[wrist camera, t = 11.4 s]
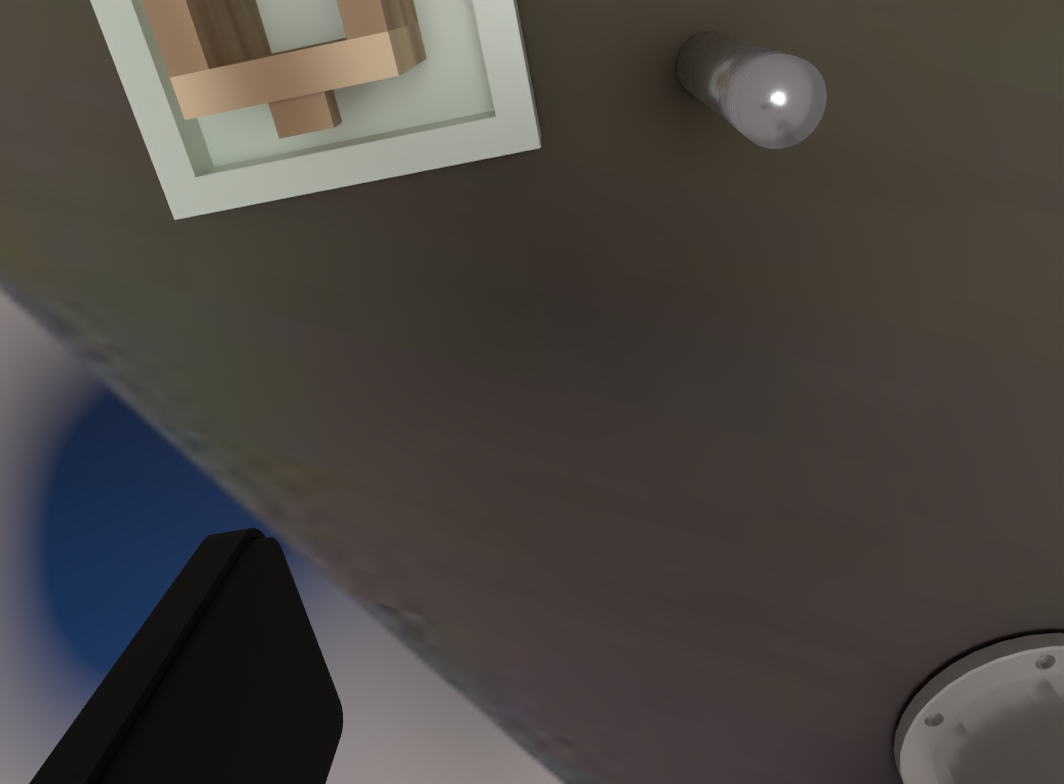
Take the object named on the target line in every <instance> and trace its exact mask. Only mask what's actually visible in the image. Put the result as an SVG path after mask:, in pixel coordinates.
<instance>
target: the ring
mask: <svg viewBox="0 0 1064 784" xmlns="http://www.w3.org/2000/svg"><path fill="white" fill-rule="evenodd" d="M142 1H143V4H144V7H145V10H146V13H147V15H148V18H149V21H150V24H151V27H152V29H153V32H154V35H155V38H156V41H157V43H158V46H159V49H160V52H161V55H162V57H163V60H164V63H165V66H166V69H167V71H168V74H169V77H170V80H171V83H172V85H173V88H174V91H175V94H176V96H177V99H178V102H179V105H180V108H181V110H182V113H183V116H184V119H185V120H188V119H193V118H197V117H202V116H207V115H212V114H217V113H222V112H227V111H231V110H236V109H241V108H246V107H251V106H256V105H260V104H265V103H268V104H269V108H270V111H271V114H272V117H273V120H274V124H275V127H276V130H277V133H278V136H279V139H281V138H286V137H291V136H296V135H301V134H306V133H311V132H316V131H320V130H325V129H330V128H335V127H336V126H338V125H339V124H341V123H342V119H341V116H340V112H339V109H338V105H337V102H336V98H335V94H334V91H333V89H338V88H343V87H348V86H353V85H357V84H362V83H367V82H372V81H377V80H382V79H386V78H391V77H396V76H400V75H401V74H403V73H404V72H406V71H408V70H409V69H411V68H412V67H414V66H416V65H417V64H419V63H421V62H422V61H424V60H425V59H427V57H426V53H425V49H424V44H423V40H422V36H421V31H420V27H419V23H418V18H417V14H416V10H415V5H414V1H413V0H337V4H338V8H339V12H340V15H341V19H342V23H343V27H344V30H345V34H346V38H342V39H337V40H332V41H328V42H323V43H318V44H314V45H309V46H304V47H299V48H295V49H290V50H285V51H281V52H276V53H272V52H271V49H270V45H269V42H268V39H267V36H266V32H265V29H264V26H263V22H262V19H261V16H260V13H259V9H258V6H257V3H256V0H142Z"/></svg>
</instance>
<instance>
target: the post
mask: <svg viewBox="0 0 1064 784" xmlns="http://www.w3.org/2000/svg"><path fill="white" fill-rule="evenodd" d="M676 71H677V76H678V79H679V81H680V83H681V84H682V86H683V87H684V88H685V89H686V90H687V91H689V92H690V93H691V94H692V95H694V96H695V97H696V98H697V99H699V100H700V101H701V102H703V103H704V104H705V105H706V106H708V107H709V108H710V109H711V110H713V111H714V112H715V113H717V114H718V115H719V116H720V117H722V118H723V119H724V120H726V121H727V122H728V123H729V124H731V125H732V126H733V127H734V128H736V129H737V130H738V131H740V132H741V133H742V134H743V135H745V136H746V137H747V138H748V139H750V140H751V141H752V142H754V143H755V144H757V145H759V146H762V147H765V148H769V149H782V148H787V147H791V146H793V145H796V144H798V143H799V142H801V141H803V140H804V139H805V138H807V137H808V136H809V135H810V134H811V133H812V132H813V131H814V130H815V128H816V127H817V125H818V124H819V122H820V120H821V119H822V116H823V114H824V111H825V107H826V99H827V94H826V87H825V83H824V80H823V78H822V76H821V74H820V72H819V71H818V70H817V69H816V67H814V66H813V65H812V64H811V63H810V62H808V61H807V60H804V59H802V58H799V57H796V56H793V55H789V54H786V53H783V52H779V51H776V50H773V49H769V48H766V47H763V46H759V45H756V44H753V43H749V42H746V41H743V40H739V39H736V38H733V37H729V36H726V35H723V34H719V33H716V32H703V33H699V34H697V35H695V36H693V37H692V38H690V39H689V40H688V41H687V42H686V43H685V44H684V45H683V47H682V48H681V50H680V52H679V54H678V58H677V63H676Z"/></svg>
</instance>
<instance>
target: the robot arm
mask: <svg viewBox="0 0 1064 784" xmlns="http://www.w3.org/2000/svg"><path fill="white" fill-rule="evenodd" d="M342 728H343V712H342V706H341V702H340V699H339V697H338V694H337V691H336V689H335V686H334V684H333V681H332V678H331V676H330V673H329V671H328V668H327V665H326V663H325V660H324V658H323V655H322V652H321V650H320V647H319V645H318V642H317V639H316V637H315V634H314V632H313V629H312V626H311V624H310V621H309V619H308V616H307V614H306V611H305V608H304V606H303V603H302V600H301V598H300V595H299V592H298V590H297V588H296V585H295V582H294V579H293V577H292V574H291V572H290V569H289V566H288V564H287V561H286V559H285V556H284V553H283V551H282V548H281V546H280V544H279V542H278V541H277V540H276V539H275V538H272V537H269V538H266V537H265V535H264V534H263V533H262V532H261V531H260V530H258V529H256V528H251V529H244V530H237V531H231V532H224V533H218V534H213V535H208V536H207V537H206V538H205V539H204V540H203V541H202V543H201V544H200V546H199V547H198V548H197V550H196V551H195V553H194V554H193V556H192V557H191V558H190V560H189V561H188V562H187V564H186V565H185V567H184V568H183V569H182V571H181V572H180V574H179V575H178V577H177V578H176V579H175V581H174V582H173V583H172V585H171V586H170V588H169V589H168V590H167V592H166V593H165V595H164V596H163V597H162V599H161V600H160V602H159V603H158V604H157V606H156V607H155V609H154V610H153V611H152V613H151V614H150V616H149V617H148V618H147V620H146V621H145V623H144V624H143V625H142V627H141V628H140V630H139V631H138V632H137V634H136V635H135V637H134V638H133V639H132V641H131V642H130V643H129V645H128V646H127V648H126V649H125V651H124V652H123V653H122V655H121V656H120V657H119V659H118V660H117V662H116V663H115V664H114V666H113V667H112V669H111V670H110V672H109V673H108V674H107V676H106V677H105V679H104V680H103V682H102V683H101V684H100V685H99V687H98V688H97V690H96V691H95V692H94V694H93V695H92V697H91V698H90V699H89V701H88V702H87V704H86V705H85V706H84V708H83V709H82V711H81V712H80V713H79V715H78V716H77V718H76V719H75V721H74V722H73V723H72V725H71V726H70V727H69V729H68V730H67V732H66V733H65V734H64V736H63V737H62V739H61V740H60V741H59V743H58V744H57V746H56V747H55V748H54V750H53V751H52V753H51V754H50V755H49V757H48V758H47V760H46V761H45V763H44V764H43V765H42V767H41V768H40V769H39V771H38V772H37V774H36V775H35V777H34V778H33V779H32V781H31V782H30V783H29V784H325V783H326V780H327V777H328V774H329V771H330V768H331V765H332V761H333V759H334V755H335V753H336V749H337V746H338V743H339V740H340V737H341V733H342ZM893 750H894V757H895V763H896V767H897V770H898V772H899V774H900V777H901V779H902V782H903V784H1064V633H1049V634H1039V635H1028V636H1024V637H1019V638H1015V639H1011V640H1006V641H1002V642H999V643H996V644H994V645H991V646H988V647H986V648H983V649H980V650H978V651H975V652H973V653H971V654H970V655H968V656H966V657H964V658H962V659H960V660H958V661H957V662H955V663H953V664H951V665H950V666H948V667H947V668H946V669H944V670H943V671H942V672H940V673H939V674H938V675H936V676H935V677H934V678H932V679H931V680H930V681H929V682H928V683H927V684H926V685H925V686H924V687H923V688H922V689H921V690H920V691H919V692H918V693H917V694H916V695H915V697H914V698H913V700H912V701H911V703H910V704H909V706H908V707H907V709H906V710H905V712H904V713H903V715H902V717H901V720H900V722H899V725H898V727H897V730H896V734H895V741H894V749H893Z"/></svg>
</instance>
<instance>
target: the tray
mask: <svg viewBox="0 0 1064 784" xmlns="http://www.w3.org/2000/svg"><path fill="white" fill-rule="evenodd" d="M90 1H91V3H92V6H93V9H94V11H95V14H96V16H97V19H98V22H99V24H100V27H101V29H102V32H103V35H104V37H105V40H106V42H107V45H108V48H109V50H110V53H111V55H112V58H113V61H114V63H115V66H116V68H117V71H118V74H119V76H120V79H121V81H122V84H123V87H124V89H125V92H126V95H127V97H128V100H129V102H130V105H131V108H132V110H133V113H134V115H135V118H136V121H137V123H138V126H139V128H140V131H141V134H142V136H143V139H144V141H145V144H146V147H147V149H148V152H149V154H150V157H151V160H152V162H153V165H154V167H155V170H156V173H157V175H158V178H159V180H160V183H161V186H162V188H163V191H164V194H165V196H166V199H167V201H168V204H169V207H170V209H171V212H172V214H173V217H174V220H177V219H182V218H187V217H192V216H197V215H202V214H207V213H212V212H218V211H223V210H228V209H233V208H238V207H243V206H248V205H253V204H258V203H263V202H268V201H274V200H279V199H284V198H289V197H294V196H299V195H304V194H309V193H314V192H319V191H324V190H330V189H335V188H340V187H345V186H350V185H355V184H360V183H365V182H370V181H375V180H380V179H386V178H391V177H396V176H401V175H406V174H411V173H416V172H421V171H426V170H431V169H436V168H442V167H447V166H452V165H457V164H462V163H467V162H472V161H477V160H482V159H487V158H492V157H498V156H503V155H508V154H513V153H518V152H523V151H528V150H533V149H538V148H541V130H540V125H539V119H538V114H537V108H536V103H535V97H534V92H533V86H532V81H531V76H530V70H529V65H528V59H527V54H526V48H525V43H524V37H523V32H522V27H521V21H520V16H519V10H518V5H517V0H413V1H414V5H415V10H416V14H417V18H418V23H419V27H420V31H421V36H422V40H423V44H424V49H425V53H426V57H427V59H425V60H424V61H422V62H421V63H419V64H417V65H416V66H414V67H412V68H411V69H409V70H408V71H406V72H404V73H403V74H401V75H400V76H396V77H391V78H386V79H382V80H377V81H372V82H367V83H362V84H357V85H353V86H348V87H343V88H338V89H333V91H334V94H335V98H336V102H337V105H338V109H339V112H340V116H341V119H342V123H341V124H339V125H338V126H336V127H335V128H330V129H325V130H320V131H316V132H311V133H306V134H301V135H296V136H291V137H286V138H281V139H279V136H278V133H277V130H276V127H275V124H274V120H273V117H272V114H271V111H270V108H269V104H268V103H265V104H260V105H256V106H251V107H246V108H241V109H236V110H231V111H227V112H222V113H217V114H212V115H207V116H202V117H197V118H193V119H188V120H185V119H184V116H183V113H182V110H181V108H180V105H179V102H178V99H177V96H176V94H175V91H174V88H173V85H172V83H171V80H170V77H169V74H168V71H167V69H166V66H165V63H164V60H163V57H162V55H161V52H160V49H159V46H158V43H157V41H156V38H155V35H154V32H153V29H152V27H151V24H150V21H149V18H148V15H147V13H146V10H145V7H144V4H143V1H142V0H90ZM256 3H257V6H258V9H259V13H260V16H261V19H262V22H263V26H264V29H265V32H266V36H267V39H268V42H269V45H270V49H271V52H272V53H276V52H281V51H285V50H290V49H295V48H299V47H304V46H309V45H314V44H318V43H323V42H328V41H332V40H337V39H342V38H346V34H345V30H344V27H343V23H342V19H341V15H340V12H339V8H338V4H337V0H256Z"/></svg>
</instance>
